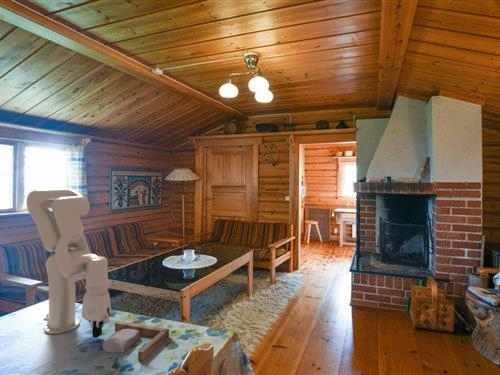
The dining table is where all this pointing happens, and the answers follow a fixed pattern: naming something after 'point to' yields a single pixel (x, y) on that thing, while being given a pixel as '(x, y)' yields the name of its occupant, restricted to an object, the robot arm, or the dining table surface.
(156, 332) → the wooden corner frame
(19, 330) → the dining table surface
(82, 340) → the dining table surface
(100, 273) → the robot arm
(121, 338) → the stone block
